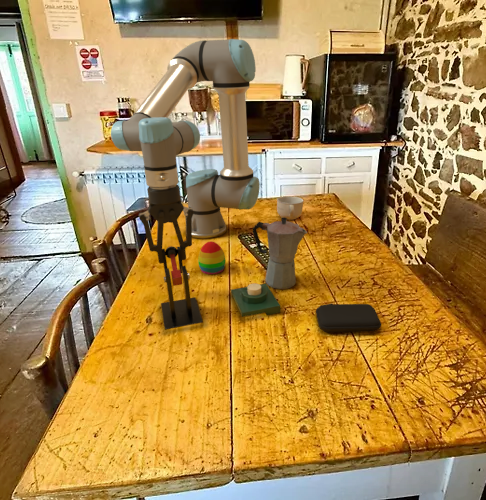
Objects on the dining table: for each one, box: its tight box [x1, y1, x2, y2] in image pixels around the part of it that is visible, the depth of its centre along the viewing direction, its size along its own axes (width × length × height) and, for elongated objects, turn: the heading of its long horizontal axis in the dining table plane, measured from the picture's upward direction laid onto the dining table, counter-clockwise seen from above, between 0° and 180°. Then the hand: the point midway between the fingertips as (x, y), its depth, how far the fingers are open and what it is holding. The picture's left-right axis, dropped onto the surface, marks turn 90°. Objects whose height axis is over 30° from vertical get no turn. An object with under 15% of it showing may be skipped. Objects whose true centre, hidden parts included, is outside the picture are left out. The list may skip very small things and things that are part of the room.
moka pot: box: [251, 217, 308, 290], centre depth 111 cm, size 10×15×20 cm, turn 78°
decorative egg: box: [197, 240, 227, 275], centre depth 119 cm, size 8×8×10 cm
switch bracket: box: [160, 265, 204, 331], centre depth 97 cm, size 12×9×13 cm
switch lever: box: [165, 246, 183, 287], centre depth 99 cm, size 13×3×3 cm, turn 19°
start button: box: [246, 282, 261, 296], centre depth 102 cm, size 4×4×2 cm
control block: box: [230, 283, 281, 318], centre depth 103 cm, size 12×10×4 cm
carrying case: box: [315, 302, 382, 333], centre depth 96 cm, size 11×3×15 cm
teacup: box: [276, 195, 304, 221], centre depth 162 cm, size 14×11×8 cm
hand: (174, 271), depth 105 cm, fingers closed on switch lever, 3 cm apart
